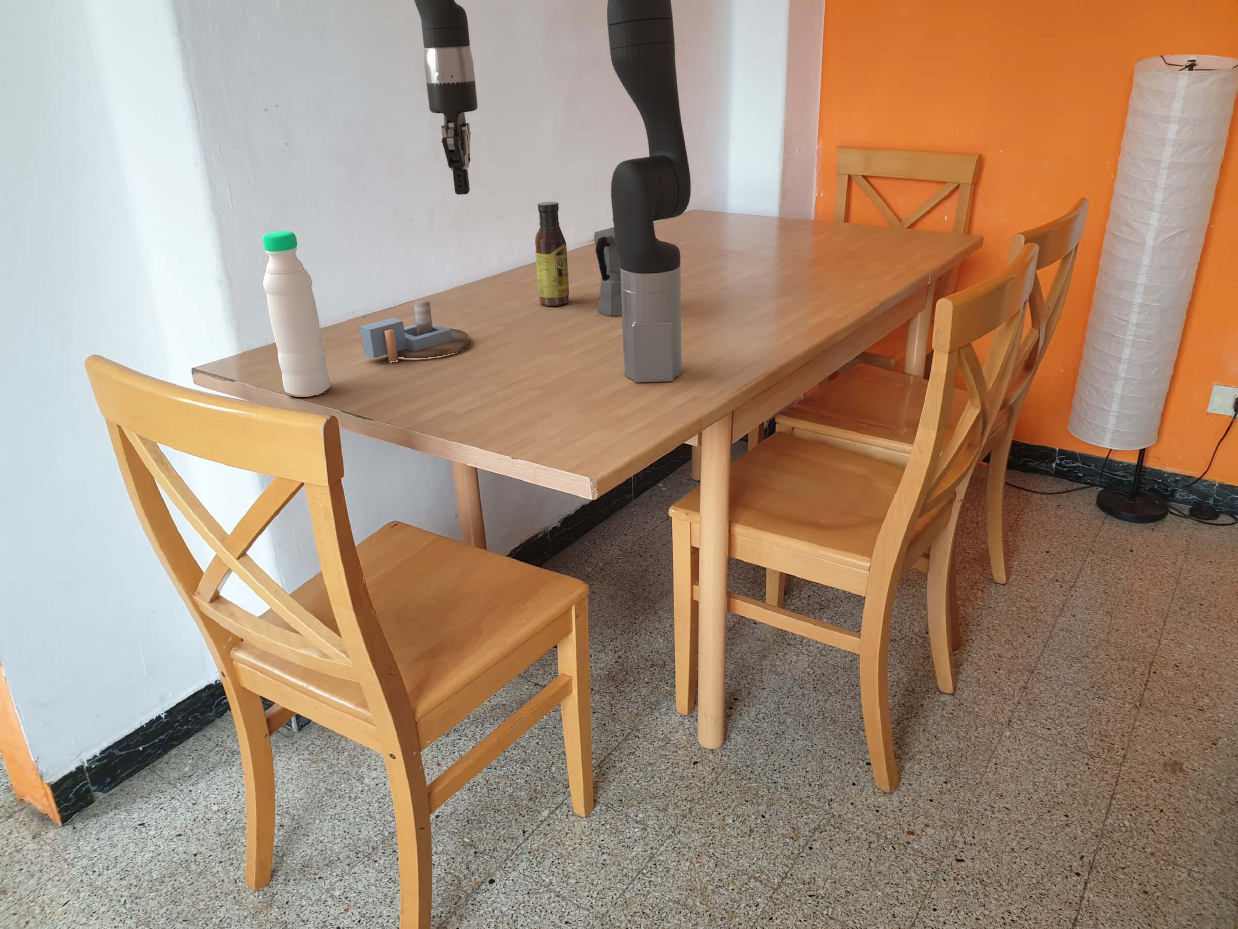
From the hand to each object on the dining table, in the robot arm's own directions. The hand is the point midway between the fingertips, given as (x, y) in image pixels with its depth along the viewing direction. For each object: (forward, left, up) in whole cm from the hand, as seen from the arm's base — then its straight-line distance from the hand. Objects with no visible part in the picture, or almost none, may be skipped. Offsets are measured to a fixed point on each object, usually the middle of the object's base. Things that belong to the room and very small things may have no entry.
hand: (462, 193), depth 156 cm
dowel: (-4, +14, -27) cm, 31 cm away
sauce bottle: (+30, -11, -27) cm, 42 cm away
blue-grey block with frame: (+1, +13, -26) cm, 29 cm away
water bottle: (-17, +25, -27) cm, 41 cm away
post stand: (+4, +10, -27) cm, 29 cm away
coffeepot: (+22, -24, -27) cm, 42 cm away
